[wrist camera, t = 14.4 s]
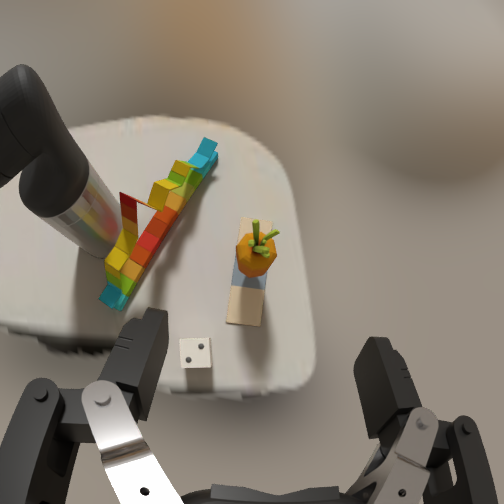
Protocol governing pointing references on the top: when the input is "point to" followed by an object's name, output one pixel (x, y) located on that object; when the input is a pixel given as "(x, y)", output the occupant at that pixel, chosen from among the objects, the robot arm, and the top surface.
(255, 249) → the carrot
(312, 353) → the top surface
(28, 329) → the top surface
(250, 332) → the top surface
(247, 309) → the flat strip
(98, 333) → the top surface
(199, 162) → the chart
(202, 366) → the die
